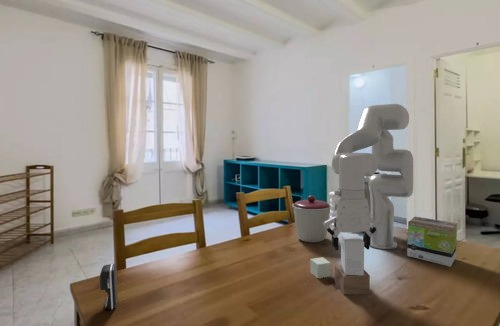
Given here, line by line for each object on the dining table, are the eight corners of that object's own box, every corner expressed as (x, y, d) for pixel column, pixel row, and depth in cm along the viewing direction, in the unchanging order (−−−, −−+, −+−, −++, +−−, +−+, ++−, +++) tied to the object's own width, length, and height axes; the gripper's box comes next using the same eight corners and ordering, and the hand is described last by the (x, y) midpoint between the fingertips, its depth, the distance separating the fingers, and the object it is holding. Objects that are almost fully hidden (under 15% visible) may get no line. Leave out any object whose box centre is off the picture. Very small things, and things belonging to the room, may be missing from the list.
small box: (364, 276, 88) (364, 242, 87) (344, 275, 89) (345, 241, 88) (358, 265, 96) (358, 233, 95) (340, 264, 97) (341, 233, 96)
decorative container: (347, 229, 155) (348, 195, 153) (326, 226, 160) (326, 193, 159) (352, 223, 164) (352, 192, 163) (331, 221, 170) (331, 190, 169)
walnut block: (335, 282, 97) (335, 265, 96) (358, 282, 97) (359, 264, 97) (343, 295, 89) (343, 276, 88) (369, 294, 89) (369, 275, 89)
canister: (324, 248, 127) (324, 200, 126) (286, 241, 137) (285, 197, 136) (335, 236, 143) (336, 194, 141) (300, 231, 152) (300, 191, 151)
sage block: (310, 272, 104) (310, 259, 104) (322, 270, 106) (322, 257, 106) (317, 278, 100) (317, 264, 99) (330, 276, 101) (330, 262, 101)
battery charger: (103, 300, 88) (101, 263, 87) (117, 297, 89) (115, 261, 88) (100, 312, 81) (98, 272, 81) (115, 310, 83) (113, 270, 82)
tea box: (406, 257, 117) (407, 220, 116) (413, 250, 124) (414, 215, 123) (451, 267, 106) (453, 227, 105) (456, 259, 114) (457, 221, 113)
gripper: (327, 197, 87) (327, 253, 88) (384, 195, 87) (383, 251, 89) (320, 192, 94) (320, 244, 96) (373, 191, 95) (372, 243, 96)
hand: (351, 248), depth 92 cm, fingers open, 9 cm apart
